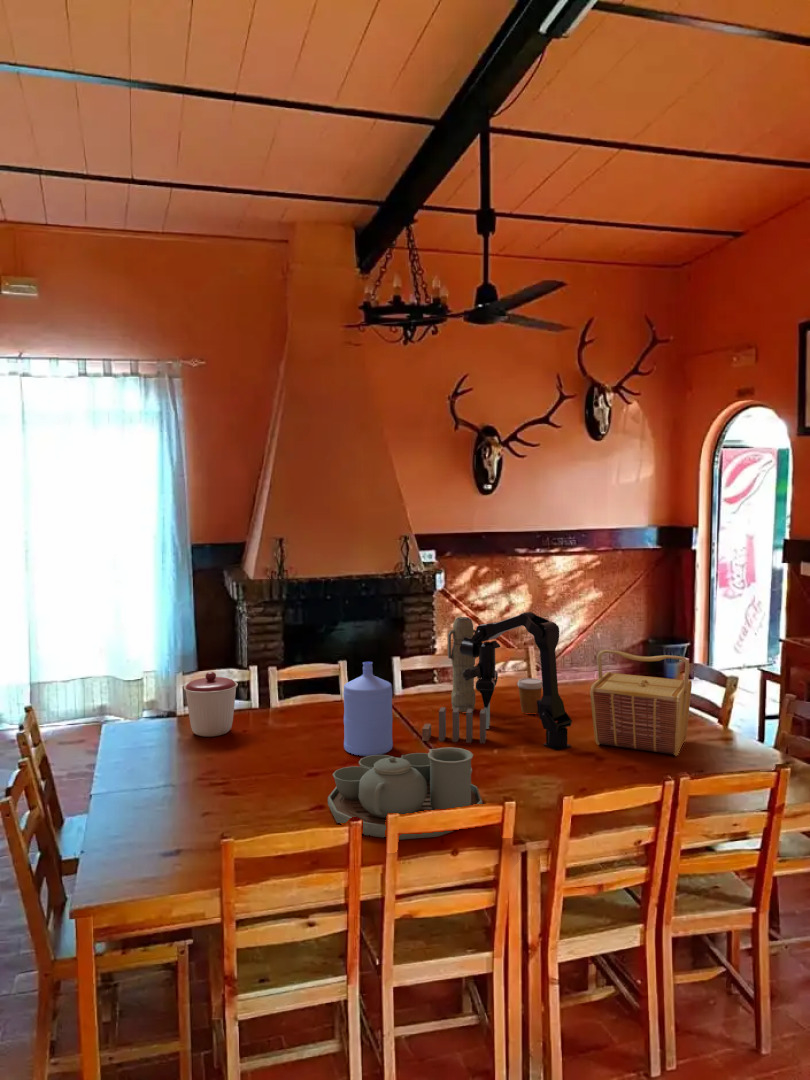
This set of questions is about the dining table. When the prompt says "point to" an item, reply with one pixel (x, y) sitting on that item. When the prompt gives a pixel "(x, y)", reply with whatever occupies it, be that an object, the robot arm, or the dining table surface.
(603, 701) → the picnic basket
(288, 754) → the dining table surface
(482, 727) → the domino
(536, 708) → the disposable coffee cup
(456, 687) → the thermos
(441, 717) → the domino
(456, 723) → the domino
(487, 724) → the teal domino
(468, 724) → the domino
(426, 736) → the end block
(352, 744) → the water jug
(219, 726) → the canister
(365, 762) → the tea set
